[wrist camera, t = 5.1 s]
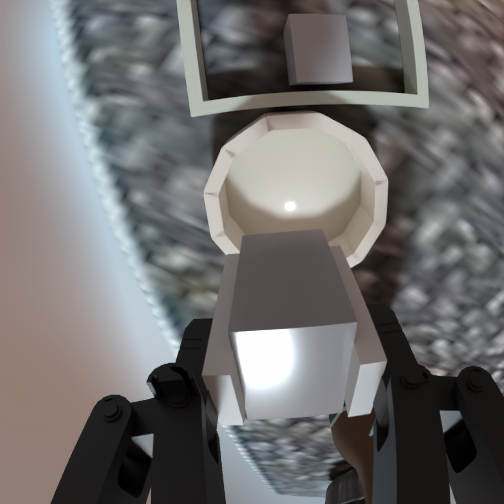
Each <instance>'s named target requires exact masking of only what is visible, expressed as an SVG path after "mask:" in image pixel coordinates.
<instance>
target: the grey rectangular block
mask: <svg viewBox="0 0 504 504" xmlns="http://www.w3.org/2000/svg"><path fill="white" fill-rule="evenodd" d="M356 328H357V320H356V317H355V314H354V311H353V308H352V305H351V303H350V300H349V297H348V294H347V292H346V289H345V286H344V283H343V281H342V278H341V275H340V273H339V270H338V268H337V265H336V262H335V260H334V257H333V255H332V252H331V250H330V247H329V245H328V242H327V240H326V237H325V235H324V232H323V230H322V229H315V230H302V231H289V232H277V233H265V234H253V235H243V236H242V242H241V248H240V255H239V261H238V268H237V274H236V281H235V287H234V294H233V300H232V307H231V314H230V320H229V327H228V336H229V340H230V345H231V349H232V351H233V353H234V357H235V362H236V366H237V371H238V375H239V380H240V384H241V388H242V393H243V397H244V401H245V409H246V413H247V417H248V420H256V419H280V418H295V417H307V416H317V415H326V414H335V413H342V410H343V405H344V400H345V398H344V395H345V389H346V384H347V379H348V373H349V367H350V361H351V355H352V349H353V342H354V341H355V336H356Z"/></svg>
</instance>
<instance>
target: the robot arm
mask: <svg viewBox="0 0 504 504" xmlns="http://www.w3.org/2000/svg"><path fill="white" fill-rule="evenodd" d="M329 247H330V250H331V252H332V255H333V257H334V260H335V262H336V265H337V268H338V270H339V273H340V275H341V278H342V281H343V283H344V286H345V289H346V292H347V294H348V297H349V300H350V303H351V305H352V308H353V311H354V314H355V317H356V320H357V328H356V336H355V341H354V342H353V349H352V355H351V361H350V367H349V373H348V379H347V384H346V389H345V395H344V398H345V403H346V409H347V414H348V417H352V416H358V415H364V414H370V413H371V410H372V407H373V406H374V410H375V414H376V417H375V420H374V422H373V425H372V427H371V429H370V433H369V436H372V435H374V465H373V496H372V504H450V487H449V483H450V486H451V489H452V492H453V495H454V498H455V501H456V504H504V396H503V395H502V393H501V391H500V389H499V388H498V386H497V385H496V383H495V381H494V380H493V378H492V376H491V375H490V374H489V373H488V372H487V371H486V370H484V369H483V368H481V367H477V366H470V367H466V368H464V369H463V370H461V372H460V373H459V375H458V377H448V376H437V375H433V374H431V373H430V371H429V370H428V369H426V368H425V367H424V366H422V365H420V364H418V363H417V361H416V359H415V357H414V354H413V352H412V350H411V348H410V345H409V343H408V341H407V339H406V337H405V334H404V332H402V328H401V326H400V324H399V323H398V320H397V317H396V315H395V313H394V311H392V310H391V309H390V308H389V307H388V306H387V305H385V304H384V303H383V304H375V305H367V306H366V304H365V301H364V299H363V296H362V294H361V292H360V289H359V287H358V285H357V282H356V280H355V277H354V275H353V273H352V271H351V268H350V266H349V264H348V261H347V259H346V257H345V255H344V253H343V250H342V248H341V246H340V245H339V246H329ZM239 255H240V253H236V254H227V257H226V262H225V266H224V271H223V275H222V280H221V284H220V289H219V294H218V298H217V303H216V308H215V313H214V317H213V318H208V319H193V320H192V321H191V323H190V324H189V325H188V326H187V327H186V328H185V331H184V335H183V338H182V341H181V345H180V350H179V352H178V355H177V359H176V362H175V363H168V364H164V365H161V366H160V367H158V368H156V369H154V370H153V371H152V373H151V374H150V375H149V377H148V379H147V382H146V383H147V385H148V386H149V388H150V390H151V392H152V393H153V395H154V398H151V399H148V400H143V401H138V402H132V403H130V402H129V401H128V400H127V399H126V398H125V397H123V396H121V395H109V396H106V397H104V398H102V399H101V400H100V401H98V402H97V404H96V405H95V407H94V408H93V410H92V412H91V414H90V416H89V418H88V420H87V422H86V425H85V427H84V429H83V431H82V433H81V435H80V437H79V439H78V441H77V444H76V446H75V448H74V450H73V452H72V454H71V457H70V459H69V461H68V464H67V466H66V468H65V470H64V473H63V475H62V477H61V480H60V482H59V484H58V487H57V489H56V491H55V494H54V497H53V499H52V501H51V504H146V501H147V498H148V495H149V491H150V488H151V504H226V500H225V491H224V483H223V473H222V463H221V452H220V443H219V436H218V433H217V430H216V429H217V421H218V419H219V422H220V424H221V425H244V414H245V401H244V397H243V393H242V388H241V384H240V380H239V375H238V371H237V366H236V362H235V357H234V353H233V351H232V349H231V345H230V340H229V336H228V327H229V320H230V314H231V307H232V300H233V294H234V287H235V281H236V274H237V268H238V261H239Z"/></svg>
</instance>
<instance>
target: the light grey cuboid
mask: <svg viewBox="0 0 504 504" xmlns="http://www.w3.org/2000/svg"><path fill="white" fill-rule="evenodd" d="M283 37H284V45H285V53H286V62H287V71H288V80H289V86H294V85H332V84H340V83H348V82H353V76H352V65H351V55H350V47H349V38H348V31H347V23H346V17H345V15H341V14H289V15H288V18H287V21H286V25H285V28H284V31H283Z"/></svg>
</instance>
